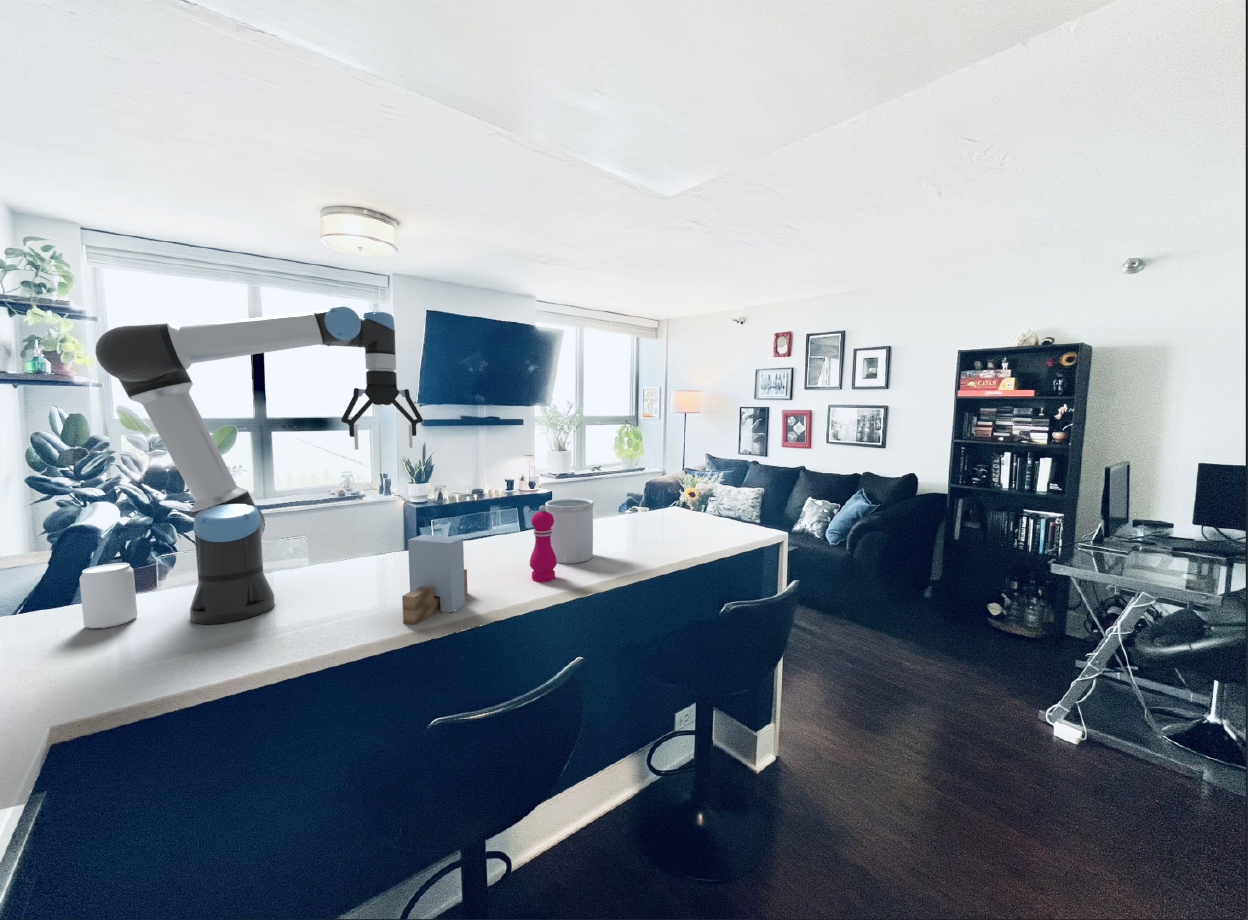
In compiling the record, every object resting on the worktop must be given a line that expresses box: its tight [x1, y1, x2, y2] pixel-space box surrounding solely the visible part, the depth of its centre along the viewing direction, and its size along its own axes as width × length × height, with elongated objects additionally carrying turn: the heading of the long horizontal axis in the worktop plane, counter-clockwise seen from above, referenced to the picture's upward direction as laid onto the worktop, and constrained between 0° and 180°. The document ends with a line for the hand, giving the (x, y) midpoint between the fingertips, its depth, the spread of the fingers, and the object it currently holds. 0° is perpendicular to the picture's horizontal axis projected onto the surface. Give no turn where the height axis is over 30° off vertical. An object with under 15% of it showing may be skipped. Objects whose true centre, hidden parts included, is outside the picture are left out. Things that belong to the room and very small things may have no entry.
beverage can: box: [78, 562, 138, 629], centre depth 110 cm, size 8×8×12 cm
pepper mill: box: [529, 505, 558, 582], centre depth 140 cm, size 7×7×20 cm
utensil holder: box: [544, 497, 594, 564], centre depth 160 cm, size 15×15×18 cm
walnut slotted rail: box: [401, 568, 468, 625], centre depth 119 cm, size 20×3×6 cm, turn 165°
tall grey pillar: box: [407, 534, 466, 613], centre depth 119 cm, size 11×5×16 cm, turn 74°
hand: (384, 448), depth 143 cm, fingers open, 13 cm apart
